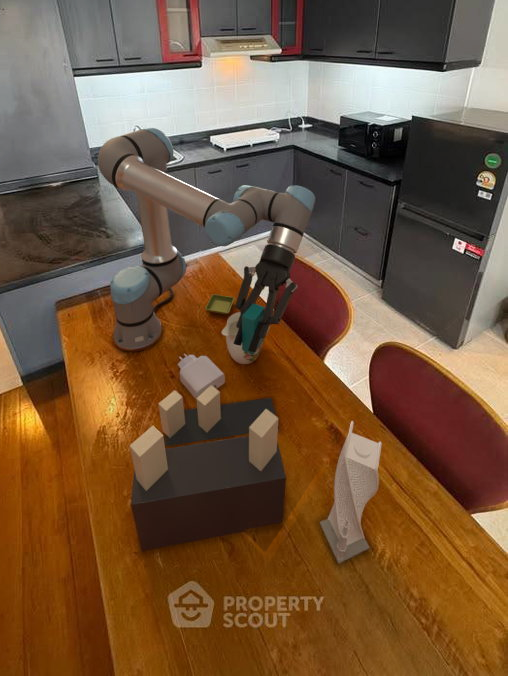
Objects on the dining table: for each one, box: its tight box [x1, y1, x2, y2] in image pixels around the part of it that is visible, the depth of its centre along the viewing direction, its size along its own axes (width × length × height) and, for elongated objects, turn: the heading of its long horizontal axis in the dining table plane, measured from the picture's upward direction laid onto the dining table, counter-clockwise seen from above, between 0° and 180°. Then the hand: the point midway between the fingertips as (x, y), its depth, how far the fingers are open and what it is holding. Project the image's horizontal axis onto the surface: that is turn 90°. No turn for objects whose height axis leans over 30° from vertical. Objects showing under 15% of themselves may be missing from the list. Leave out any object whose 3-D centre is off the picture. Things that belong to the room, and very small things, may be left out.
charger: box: [177, 353, 226, 401], centre depth 109 cm, size 5×9×15 cm
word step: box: [129, 409, 287, 552], centre depth 74 cm, size 9×28×26 cm, turn 99°
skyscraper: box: [319, 420, 383, 565], centre depth 70 cm, size 8×8×28 cm
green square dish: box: [204, 293, 236, 315], centre depth 136 cm, size 9×9×2 cm
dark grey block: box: [158, 385, 280, 447], centre depth 95 cm, size 9×29×11 cm, turn 99°
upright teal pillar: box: [242, 303, 266, 355], centre depth 85 cm, size 3×5×10 cm, turn 149°
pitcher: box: [221, 311, 271, 365], centre depth 114 cm, size 11×18×14 cm, turn 129°
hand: (244, 347), depth 83 cm, fingers closed on upright teal pillar, 3 cm apart
